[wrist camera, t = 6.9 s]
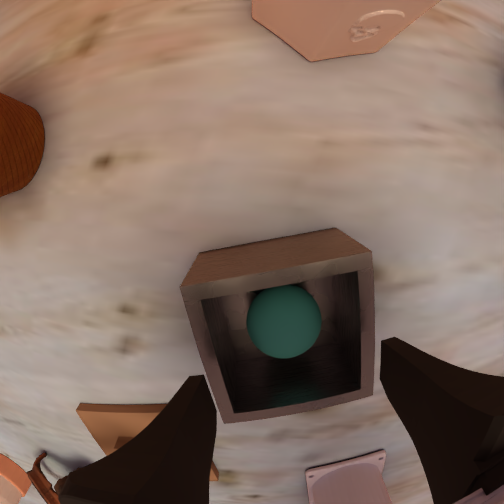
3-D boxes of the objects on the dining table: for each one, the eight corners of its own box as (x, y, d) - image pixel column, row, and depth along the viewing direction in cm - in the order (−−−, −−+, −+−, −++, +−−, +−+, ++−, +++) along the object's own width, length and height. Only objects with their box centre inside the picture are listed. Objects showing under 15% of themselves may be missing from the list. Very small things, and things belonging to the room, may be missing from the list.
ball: (315, 328, 18) (332, 363, 15) (252, 340, 18) (255, 379, 15) (308, 268, 17) (326, 294, 14) (239, 280, 17) (239, 310, 14)
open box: (345, 344, 19) (372, 395, 14) (228, 366, 20) (224, 423, 14) (335, 227, 17) (371, 251, 12) (199, 252, 18) (179, 286, 12)
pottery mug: (107, 500, 27) (65, 526, 19) (65, 446, 29) (21, 467, 22) (131, 497, 21) (76, 534, 14) (75, 427, 24) (16, 455, 17)
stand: (218, 472, 23) (217, 492, 21) (126, 470, 23) (120, 487, 21) (185, 402, 20) (180, 425, 18) (80, 403, 21) (69, 421, 18)
